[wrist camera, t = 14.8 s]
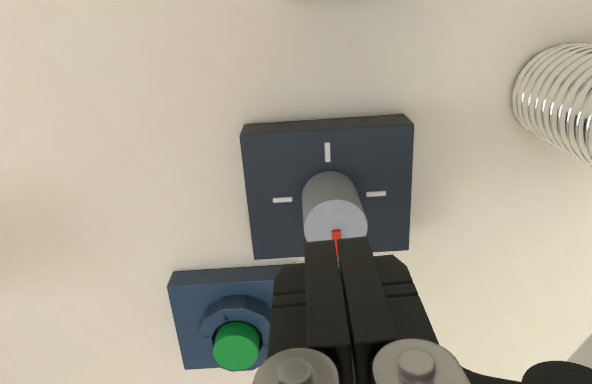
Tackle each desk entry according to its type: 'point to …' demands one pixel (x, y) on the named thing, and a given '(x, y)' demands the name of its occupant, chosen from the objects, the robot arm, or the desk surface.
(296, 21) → the desk surface
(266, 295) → the housing
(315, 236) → the program dial
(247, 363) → the button
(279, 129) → the dial panel
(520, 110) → the water bottle
